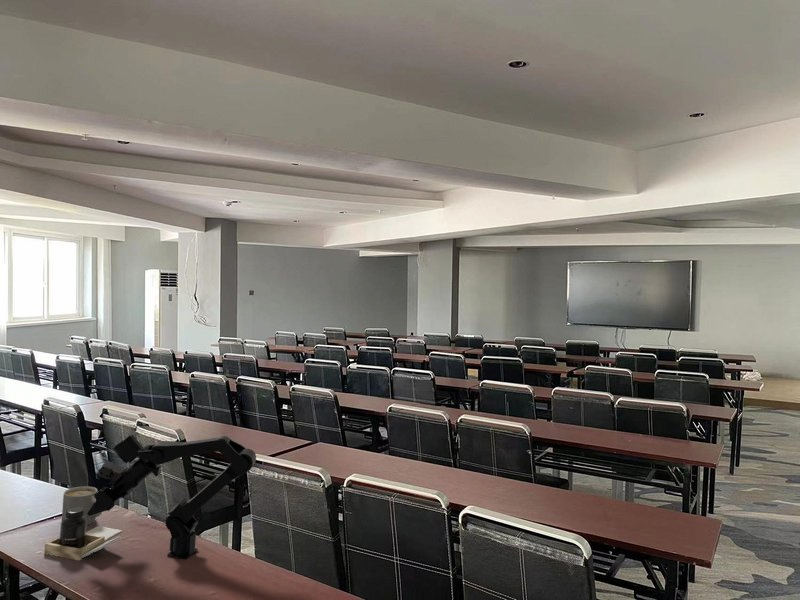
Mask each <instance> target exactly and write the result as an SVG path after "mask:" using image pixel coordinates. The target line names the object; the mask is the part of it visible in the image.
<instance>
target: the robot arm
mask: <svg viewBox="0 0 800 600" xmlns="http://www.w3.org/2000/svg"><path fill="white" fill-rule="evenodd" d="M111 450H112V451H113V452H114V454H116V456H117V457H118V458H119V459H120V460H121V461H122V462H123V463H124V464H128V463H129V464H131V463H132V464H131V465H130V466H127V468H125V469H124V468H123V467H121V466H120V465H118V464H117V463H115V462H112V461H110V460H109V461H106V462H104V463H103V464H102V465H101V467H100V468H99V469H98V472H97V476H99V477H101V478H103V479H105V480H108V481H109V483H108V484H109V485H110V486H111V487H112V488H110V487H109V486H103V487H102V488H100V490H97V493H96V494H95V495H94V496H95V499H96V502H95V503H94V505H93V506H92V507H91V509H90V510H89V511H88V513H87V514H88V515H89V516H91V515H94V514H97V513H100V512H107V511H108V512H109V511H110V510H111V509H113V508H114V507H115V506H116V505H118V504H119V502H120V499H121V498H124V497H126V496H128V495H129V494H130V493H131V492H133V491H134V490H135V489H136V488H137V487H138V485H140V484H141V483H142V482H143V481H144V480H145V479H147V478H148V477H149V476H150V475H151V474H153V475H154V476H155V477H159V475H160V474H161V473H162V464H163V465H164V464H166V463H169V462H172V461H174V460H176V459H179V458H184V457H189V456H197V455H203V454H212V453H220V454H221V455H222V456H223V458H225V459H226V461H227V462H228V463H230V464H229V465H228V466H227V467H226V469H223V471H222V472H220V474H218V475H217V476H216V477H215V478H214V479H212V480H211V481H210V482H209V483H208V484H207V485H206V486H204V488H202V489H201V490H200V491H199V492H198V493H196V494H195V495H194V496H193V497H192V498H190V499H188V500H187V499H186V497H183V498H182V499H181V500H180V501H179V503H177V504H175V505H174V506H173V507H172V508H171V509H170V510H169V512H168V513H167V514H168V515H167V517H166V519H165V526H166V528H167V530H169V533H170V536H171V537H170V539H169V552H168V553H167V557H172V558H176V559H177V558H179V559H183V560H186V559H187V560H188V558H191V556H193V555H194V554H195V553H197V552H198V548H196V540H197V539H196V538H197V532H195V531H194V530H195V529H196V528H197V525H198V524H199V521H198V520H197V519H196V518H195V517H194V515H195V514H196V513H197V512H198V510H200V509H201V508H202V507H203V506H205V504H207V503H208V502H209V501H210V500H211V499H212V498H213V497H215V496H216V495H217V494H219V492H220V491H221V490H223V489H224V488H225V487H226V486H228V484H229V483H230V482H232V481H234V480H235V479H237V478H239V477H242V476H243V475H245V474H247V473H248V472H249V471H251V469H252V468H253V466H254V464H255V463H256V460H257V455H256V452H255V451H254V450H253V449H250V448H247V447H245V446H243V445H242V444H240V443H238V442H236V441H235V440H233V439H231V438H230V437H228V436H225V435H221V436H219V437H213V438H207V439H198V440H191V441H185V442H183V441H174V440H161V441H158V443H156V444H147V445H145V446H143V445H142V444H141V442H139V441H138V439H137V438H136V436H135V434H133V433H131V434H130V435H129V436H127V437H125V439H123V440H122V441H120V442H119V443H118V444H116V445H115V446H114V447H112V448H111ZM136 459H137V460H136ZM135 460H136V461H135ZM134 461H135V462H134ZM133 462H134V463H133ZM196 551H197V552H196Z"/></svg>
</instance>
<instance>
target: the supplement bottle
mask: <svg viewBox="0 0 800 600" xmlns="http://www.w3.org/2000/svg"><path fill="white" fill-rule="evenodd" d="M83 516H84V508H81V507H73V508H69V509H67V510H66V515H65V517H66V518H65V519H64V520H63V521H62V520H61V522H60V530H59V531H60V532H59V537H60V541H59V545H63V546H68V547H73V548H78V549H80V548H82V547H84V546H86V544H85V538H86V532H87V527H88V525H87V520H86V518H85V517H83Z"/></svg>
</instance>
